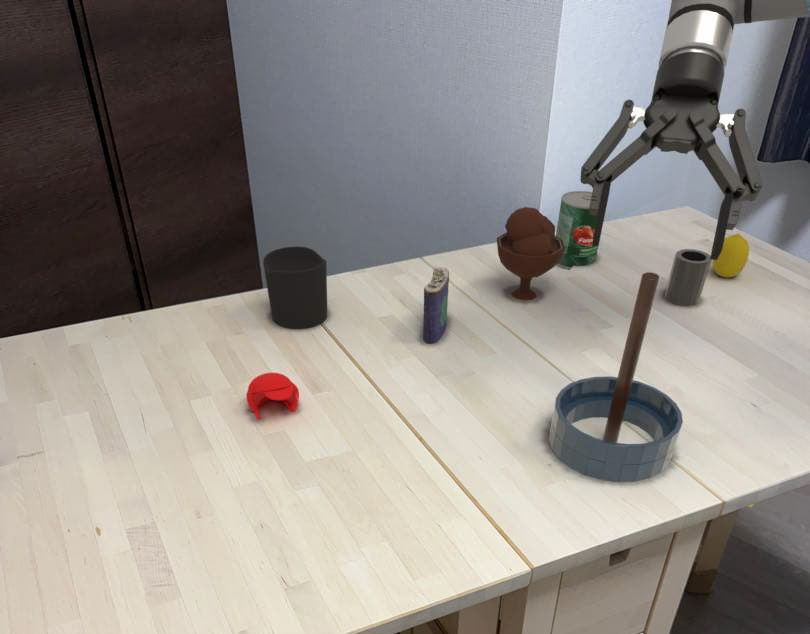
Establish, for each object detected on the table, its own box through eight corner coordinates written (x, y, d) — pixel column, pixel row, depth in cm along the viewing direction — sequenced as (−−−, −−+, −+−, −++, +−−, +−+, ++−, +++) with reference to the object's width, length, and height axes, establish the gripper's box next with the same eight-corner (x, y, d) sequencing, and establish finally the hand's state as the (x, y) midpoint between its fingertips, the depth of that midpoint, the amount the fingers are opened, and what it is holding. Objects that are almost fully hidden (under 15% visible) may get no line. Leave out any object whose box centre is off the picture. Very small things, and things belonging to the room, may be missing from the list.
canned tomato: (584, 273, 133) (596, 210, 125) (544, 263, 136) (553, 200, 128) (602, 258, 137) (614, 196, 130) (562, 248, 140) (572, 187, 133)
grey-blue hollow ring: (680, 434, 97) (693, 394, 93) (654, 501, 87) (667, 460, 83) (568, 404, 102) (576, 365, 98) (532, 465, 92) (538, 424, 88)
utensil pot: (700, 299, 126) (714, 253, 120) (694, 313, 122) (708, 265, 116) (667, 292, 127) (679, 246, 122) (660, 306, 124) (672, 259, 118)
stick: (617, 442, 94) (661, 274, 79) (614, 449, 93) (657, 280, 78) (603, 438, 95) (644, 270, 80) (600, 445, 94) (640, 277, 79)
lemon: (739, 288, 129) (755, 242, 124) (706, 283, 130) (720, 237, 125) (740, 275, 133) (755, 230, 127) (708, 270, 134) (721, 225, 129)
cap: (238, 411, 100) (231, 372, 96) (273, 394, 103) (268, 355, 99) (275, 436, 96) (270, 396, 92) (310, 417, 99) (307, 378, 95)
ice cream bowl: (549, 318, 120) (563, 224, 110) (482, 306, 123) (490, 213, 112) (562, 291, 127) (577, 200, 117) (499, 280, 130) (508, 191, 120)
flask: (432, 319, 119) (435, 253, 112) (450, 322, 119) (455, 256, 111) (420, 347, 113) (422, 279, 105) (439, 350, 112) (442, 282, 105)
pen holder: (336, 310, 121) (332, 249, 114) (321, 337, 114) (316, 275, 108) (280, 304, 122) (273, 244, 115) (262, 332, 116) (254, 269, 109)
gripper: (794, 99, 88) (758, 274, 88) (581, 83, 93) (548, 249, 93) (816, 55, 81) (778, 246, 80) (584, 40, 85) (548, 220, 85)
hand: (655, 248), depth 86 cm, fingers open, 13 cm apart
